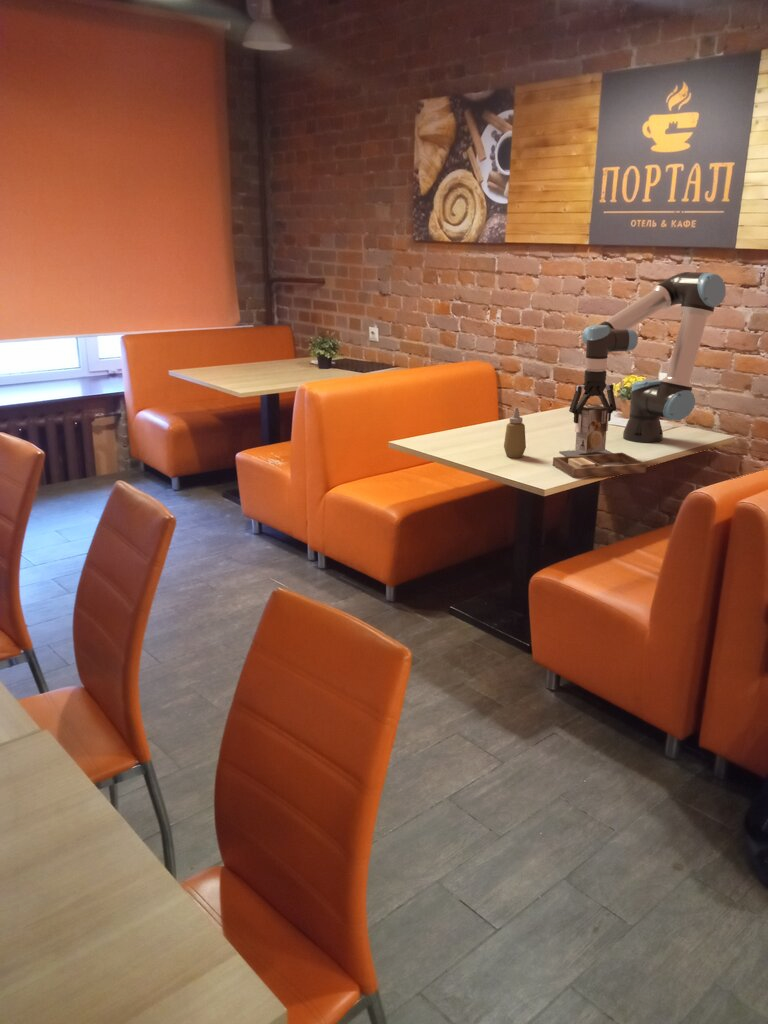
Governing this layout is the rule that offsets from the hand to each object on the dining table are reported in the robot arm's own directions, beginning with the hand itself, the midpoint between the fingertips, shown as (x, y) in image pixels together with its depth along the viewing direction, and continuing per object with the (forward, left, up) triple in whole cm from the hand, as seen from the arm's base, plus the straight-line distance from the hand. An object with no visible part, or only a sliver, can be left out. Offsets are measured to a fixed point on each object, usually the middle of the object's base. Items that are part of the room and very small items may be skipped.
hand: (591, 430), depth 299 cm
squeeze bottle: (+27, -6, -9) cm, 29 cm away
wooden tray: (+6, +18, -9) cm, 21 cm away
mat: (0, 0, -9) cm, 9 cm away
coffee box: (0, 0, -8) cm, 8 cm away
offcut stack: (+12, +18, -10) cm, 24 cm away
